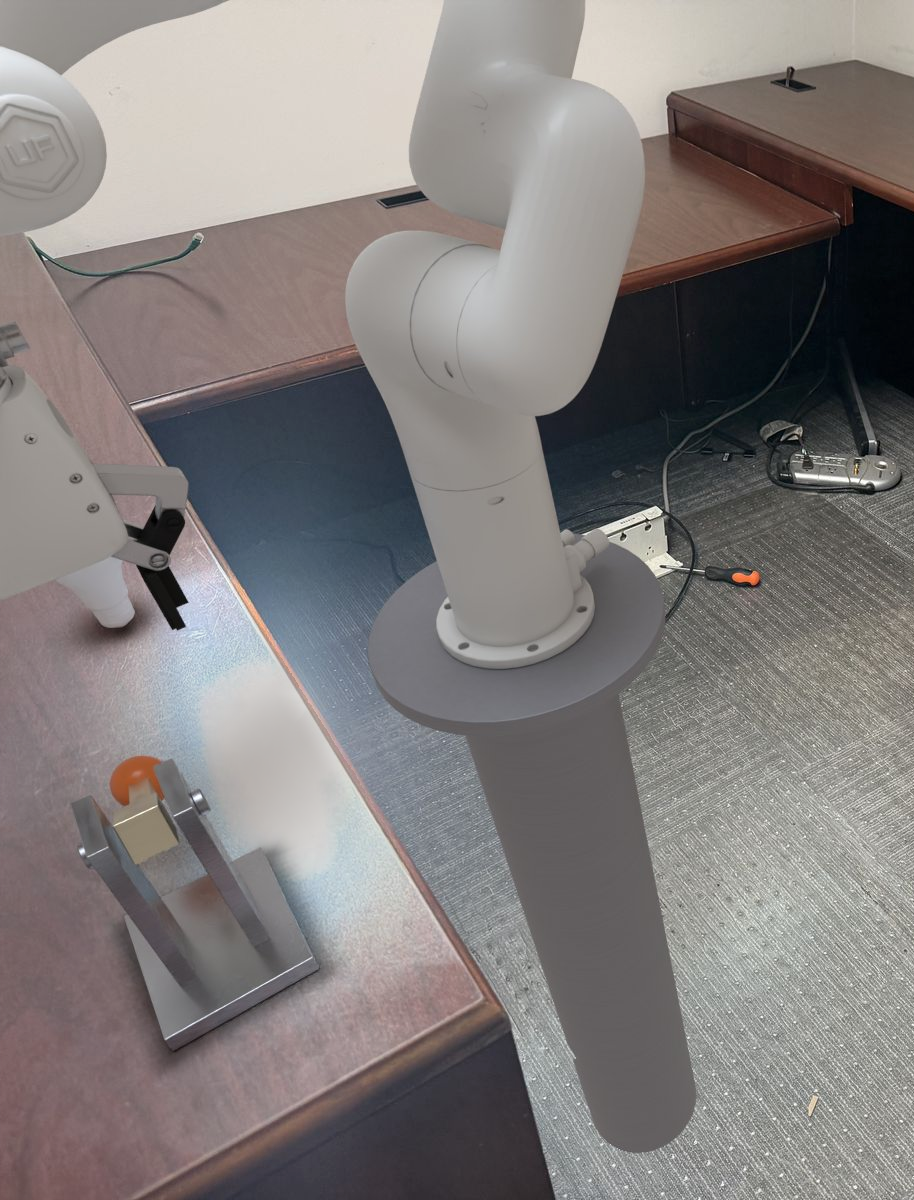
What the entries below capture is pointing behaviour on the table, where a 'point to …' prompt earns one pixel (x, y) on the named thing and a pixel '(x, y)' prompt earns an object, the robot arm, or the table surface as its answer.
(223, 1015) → the bracket
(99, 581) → the lightbulb
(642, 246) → the table surface
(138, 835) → the lever
